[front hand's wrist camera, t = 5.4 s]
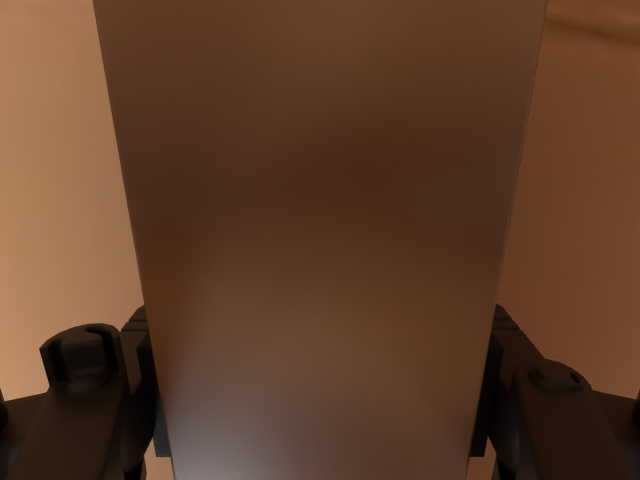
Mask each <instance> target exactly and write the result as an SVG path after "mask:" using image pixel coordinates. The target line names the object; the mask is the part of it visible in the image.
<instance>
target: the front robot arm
mask: <svg viewBox="0 0 640 480" xmlns="http://www.w3.org/2000/svg"><path fill="white" fill-rule="evenodd" d="M39 350H40V354H41V357H42V361H43V364H44V368H45V371H46V375H47V378H48V382H49V385H50V387H49V389H48V391H47V392H46V393H42V394H38V395H33V396H28V397H23V398H19V399H14V400H9V401H4V398H3V395H2V392H1V389H0V480H146V475H147V472H146V464H145V459H144V454H145V452H146V450H147V448H148V446H149V444H150V441H151V439H152V437H153V442H154V447H155V452H156V457H170V451H169V445H168V439H167V433H166V428H165V422H164V416H163V410H162V404H161V398H160V392H159V387H158V381H157V375H156V369H155V363H154V357H153V351H152V346H151V340H150V334H149V328H148V322H147V316H146V310H145V305H143V306H141V307H140V308H138V309H137V310H136V312H135V313H134V314H133V315H132V317H131V318H130V319H129V322H127V323H126V324H125V325H124V326H123V328H122V329H121V332H119V330H118V329H116V328H115V327H114V326H112V325H107V324H103V323H99V324H86V325H81V326H77V327H73V328H70V329H68V330H65V331H63V332H60V333H58V334H56V335H55V336H53V337H51V338H50V339H48V340H47V341H46V342H45V343H44V344H43V345H42V346H41V347H40V348H39ZM488 437H489V439H490V441H491V443H492V445H493V447H494V449H495V451H496V453H497V454H496V459H495V464H494V469H493V474H492V479H491V480H640V390H639V393H638V396H637V399H631V398H626V397H621V396H616V395H611V394H607V393H602V392H598V391H594V390H592V388H591V386H590V384H589V383H588V382H587V381H586V379H585V378H584V377H583V376H582V375H581V374H579V373H578V372H576V371H575V370H574V369H572V368H570V367H568V366H566V365H564V364H561V363H559V362H556V361H552V360H548V359H545V358H544V357H543V356H542V355H541V353H540V352H539V351H538V350H537V348H536V347H535V346H534V345H533V344H532V342H531V341H530V340H529V339H528V338H527V336H526V335H525V334H524V333H523V331H522V330H520V329H519V327H518V325H517V324H516V323H515V322H514V321H512V318H511V317H510V316H509V314H508V313H507V312H506V311H505V309H504V308H503V307H502V306H500V305H498V304H497V303H496V305H495V311H494V317H493V323H492V329H491V335H490V340H489V346H488V352H487V358H486V364H485V370H484V375H483V381H482V387H481V393H480V399H479V404H478V410H477V416H476V422H475V428H474V434H473V439H472V445H471V451H470V457H484V454H485V449H486V443H487V438H488Z"/></svg>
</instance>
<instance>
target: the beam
mask: <svg viewBox="0 0 640 480" xmlns="http://www.w3.org/2000/svg"><path fill="white" fill-rule="evenodd" d="M547 3H548V0H93V5H94V11H95V17H96V23H97V29H98V35H99V41H100V46H101V52H102V58H103V64H104V70H105V76H106V82H107V87H108V93H109V99H110V105H111V111H112V117H113V123H114V129H115V134H116V140H117V146H118V152H119V158H120V164H121V170H122V175H123V181H124V187H125V193H126V199H127V205H128V211H129V217H130V222H131V228H132V234H133V240H134V246H135V252H136V258H137V263H138V269H139V275H140V281H141V287H142V293H143V299H144V304H145V310H146V316H147V322H148V328H149V334H150V340H151V346H152V351H153V357H154V363H155V369H156V375H157V381H158V387H159V392H160V398H161V404H162V410H163V416H164V422H165V428H166V433H167V439H168V445H169V451H170V457H171V463H172V469H173V475H174V480H466V474H467V468H468V463H469V457H470V451H471V445H472V439H473V434H474V428H475V422H476V416H477V410H478V404H479V399H480V393H481V387H482V381H483V375H484V370H485V364H486V358H487V352H488V346H489V340H490V335H491V329H492V323H493V317H494V311H495V305H496V300H497V294H498V288H499V282H500V276H501V271H502V265H503V259H504V253H505V247H506V241H507V236H508V230H509V224H510V218H511V212H512V207H513V201H514V195H515V189H516V183H517V177H518V172H519V166H520V160H521V154H522V148H523V142H524V137H525V131H526V125H527V119H528V113H529V108H530V102H531V96H532V90H533V84H534V78H535V73H536V67H537V61H538V55H539V49H540V43H541V38H542V32H543V26H544V20H545V14H546V9H547Z"/></svg>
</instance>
